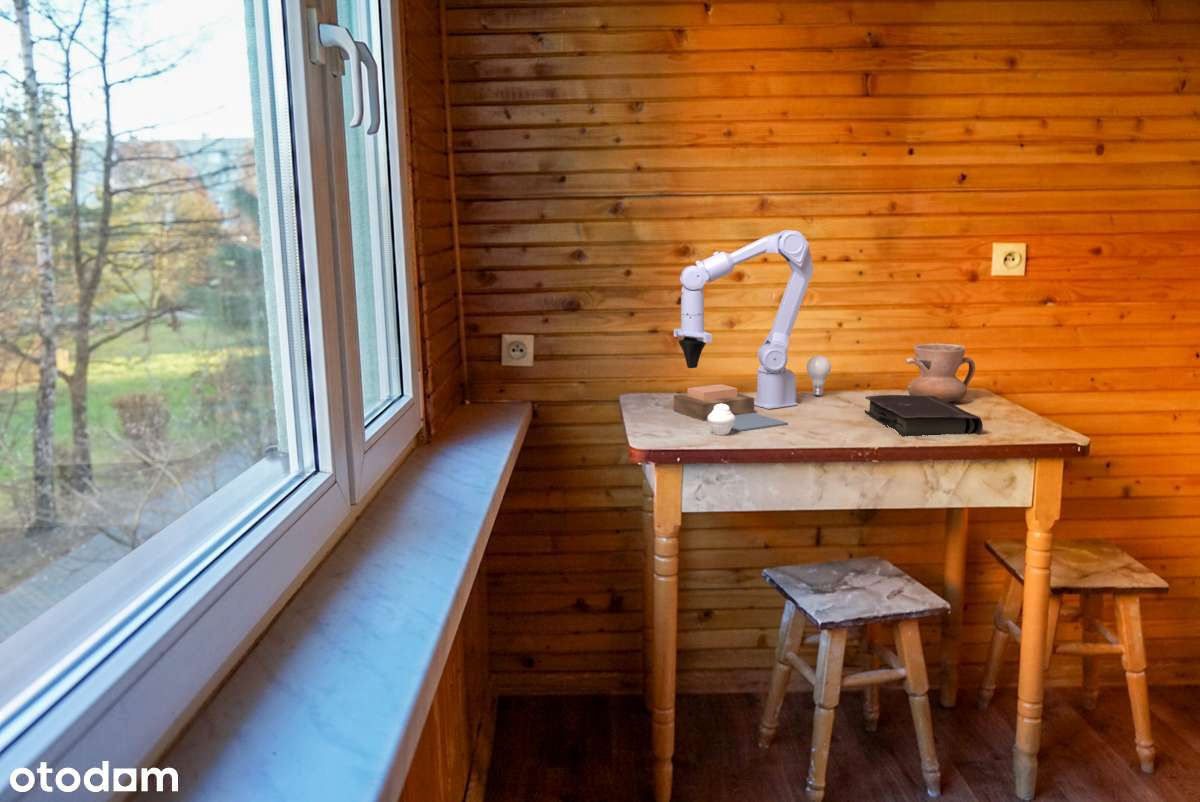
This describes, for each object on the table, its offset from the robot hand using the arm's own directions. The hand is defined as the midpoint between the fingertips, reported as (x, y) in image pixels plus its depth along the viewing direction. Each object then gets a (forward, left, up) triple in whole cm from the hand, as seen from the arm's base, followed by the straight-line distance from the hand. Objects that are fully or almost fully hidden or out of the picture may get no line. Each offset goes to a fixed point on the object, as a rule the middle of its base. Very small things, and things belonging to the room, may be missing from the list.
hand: (692, 367), depth 237 cm
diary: (-33, +44, -11) cm, 56 cm away
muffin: (+11, +29, -10) cm, 33 cm away
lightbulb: (-36, +7, -10) cm, 38 cm away
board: (0, +10, -10) cm, 14 cm away
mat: (0, +23, -10) cm, 25 cm away
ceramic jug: (-58, +28, -10) cm, 65 cm away
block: (0, +9, -6) cm, 11 cm away
